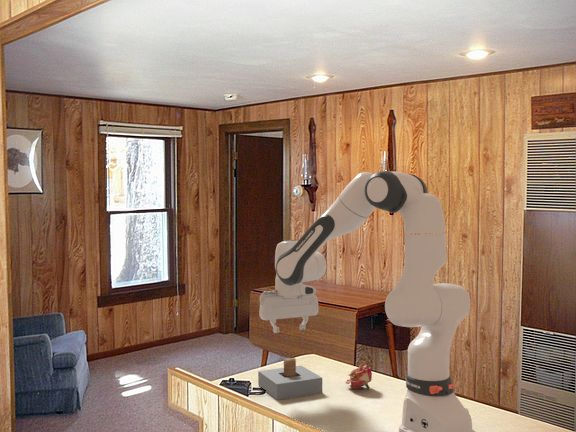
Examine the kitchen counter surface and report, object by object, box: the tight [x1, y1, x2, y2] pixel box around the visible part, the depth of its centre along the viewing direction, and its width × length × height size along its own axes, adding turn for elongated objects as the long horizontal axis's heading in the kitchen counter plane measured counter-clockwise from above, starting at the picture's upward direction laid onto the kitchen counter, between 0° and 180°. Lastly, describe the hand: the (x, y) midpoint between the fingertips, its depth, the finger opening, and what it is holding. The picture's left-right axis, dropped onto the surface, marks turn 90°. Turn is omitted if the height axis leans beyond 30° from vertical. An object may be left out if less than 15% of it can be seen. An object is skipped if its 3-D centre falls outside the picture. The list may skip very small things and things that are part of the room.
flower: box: [345, 364, 373, 390], centre depth 196 cm, size 10×9×8 cm
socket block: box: [257, 365, 323, 401], centre depth 196 cm, size 16×16×5 cm
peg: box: [283, 357, 297, 378], centre depth 196 cm, size 4×4×10 cm
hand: (289, 331), depth 195 cm, fingers open, 8 cm apart
